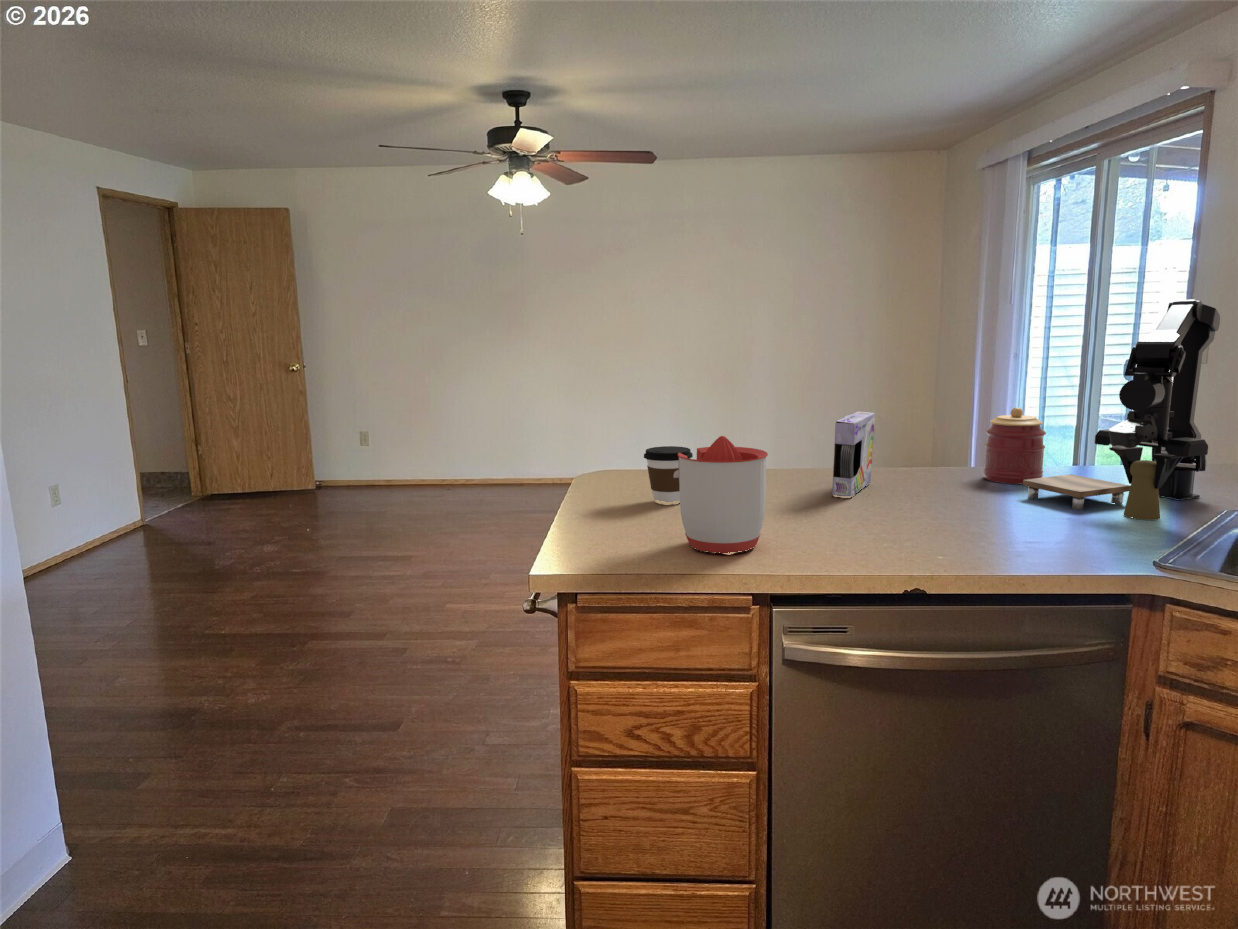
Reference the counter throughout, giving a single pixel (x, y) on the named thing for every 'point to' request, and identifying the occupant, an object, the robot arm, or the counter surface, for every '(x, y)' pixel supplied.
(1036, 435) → the canister
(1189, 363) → the robot arm
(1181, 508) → the counter surface
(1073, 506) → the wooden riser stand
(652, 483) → the coffee cup
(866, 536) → the counter surface
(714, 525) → the citrus juicer
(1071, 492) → the shelf board
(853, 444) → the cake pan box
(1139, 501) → the cork
